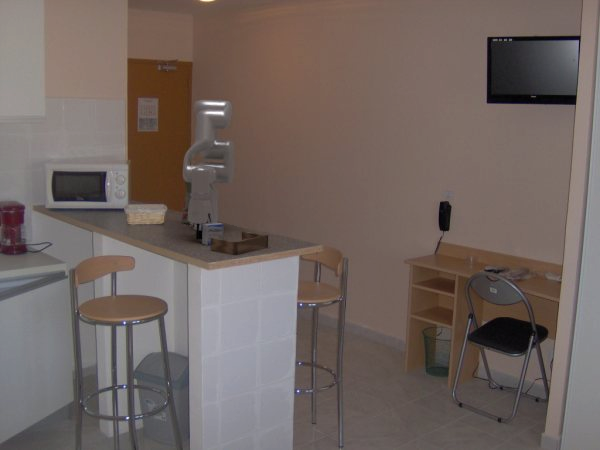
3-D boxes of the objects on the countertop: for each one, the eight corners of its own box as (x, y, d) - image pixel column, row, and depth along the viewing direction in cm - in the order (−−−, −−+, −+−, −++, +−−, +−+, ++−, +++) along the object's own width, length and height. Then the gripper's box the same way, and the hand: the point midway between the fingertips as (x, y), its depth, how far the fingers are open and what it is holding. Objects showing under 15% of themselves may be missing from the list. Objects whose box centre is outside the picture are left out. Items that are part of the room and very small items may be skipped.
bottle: (196, 225, 347) (196, 167, 342) (178, 224, 348) (178, 166, 344) (202, 222, 355) (202, 166, 350) (185, 221, 357) (185, 165, 352)
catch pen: (210, 250, 289) (210, 238, 289) (243, 242, 307) (243, 231, 306) (235, 254, 282) (236, 242, 281) (267, 247, 300) (268, 235, 299)
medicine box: (207, 245, 299) (207, 225, 297) (201, 243, 302) (202, 223, 301) (223, 244, 303) (223, 223, 302) (218, 242, 307) (218, 222, 305)
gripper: (181, 195, 304) (181, 237, 307) (207, 199, 296) (207, 242, 299) (193, 194, 310) (192, 235, 313) (219, 197, 302) (219, 240, 305)
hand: (199, 238), depth 306 cm, fingers closed
